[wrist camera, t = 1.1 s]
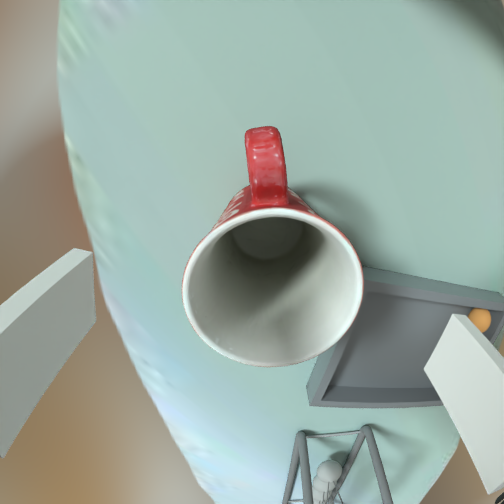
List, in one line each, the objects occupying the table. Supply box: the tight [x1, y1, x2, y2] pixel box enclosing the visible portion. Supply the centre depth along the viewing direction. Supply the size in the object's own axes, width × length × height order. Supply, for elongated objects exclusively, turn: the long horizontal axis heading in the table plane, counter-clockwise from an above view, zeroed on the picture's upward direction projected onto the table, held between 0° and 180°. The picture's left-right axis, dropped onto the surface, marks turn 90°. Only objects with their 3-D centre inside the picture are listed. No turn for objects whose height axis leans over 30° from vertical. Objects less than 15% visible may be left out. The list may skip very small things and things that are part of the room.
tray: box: [306, 266, 504, 408], centre depth 31 cm, size 16×22×3 cm
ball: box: [468, 308, 491, 333], centre depth 29 cm, size 3×3×3 cm
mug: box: [182, 126, 364, 367], centre depth 21 cm, size 13×9×14 cm
